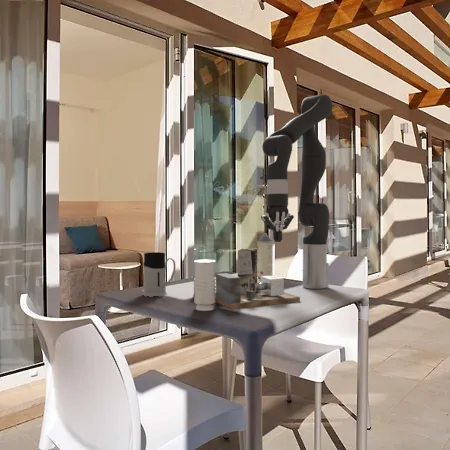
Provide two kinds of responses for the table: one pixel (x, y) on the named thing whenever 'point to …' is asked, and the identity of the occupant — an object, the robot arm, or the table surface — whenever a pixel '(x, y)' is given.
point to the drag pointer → (250, 293)
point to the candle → (204, 284)
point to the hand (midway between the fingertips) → (277, 241)
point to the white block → (271, 285)
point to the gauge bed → (232, 298)
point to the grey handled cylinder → (155, 274)
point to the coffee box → (247, 269)
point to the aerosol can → (264, 256)
